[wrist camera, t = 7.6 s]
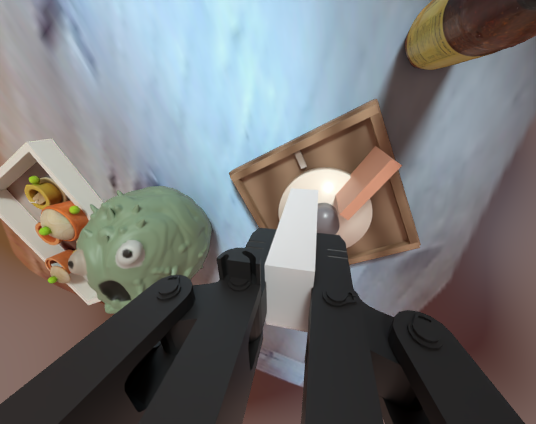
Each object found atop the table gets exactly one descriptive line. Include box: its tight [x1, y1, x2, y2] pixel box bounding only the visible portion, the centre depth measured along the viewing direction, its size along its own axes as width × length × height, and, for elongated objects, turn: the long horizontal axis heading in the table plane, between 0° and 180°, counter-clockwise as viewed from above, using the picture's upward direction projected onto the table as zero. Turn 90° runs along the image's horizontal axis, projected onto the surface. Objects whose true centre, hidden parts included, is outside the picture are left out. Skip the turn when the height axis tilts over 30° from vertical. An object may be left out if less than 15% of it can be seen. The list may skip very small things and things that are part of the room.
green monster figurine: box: [68, 186, 211, 314], centre depth 33 cm, size 16×19×20 cm
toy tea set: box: [25, 176, 89, 283], centre depth 46 cm, size 26×16×10 cm, turn 166°
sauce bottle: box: [405, 0, 536, 70], centre depth 16 cm, size 7×6×20 cm
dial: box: [278, 146, 402, 248], centre depth 29 cm, size 18×13×8 cm
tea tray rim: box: [0, 139, 104, 305], centre depth 48 cm, size 23×33×4 cm
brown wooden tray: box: [229, 99, 421, 265], centre depth 34 cm, size 22×22×3 cm
